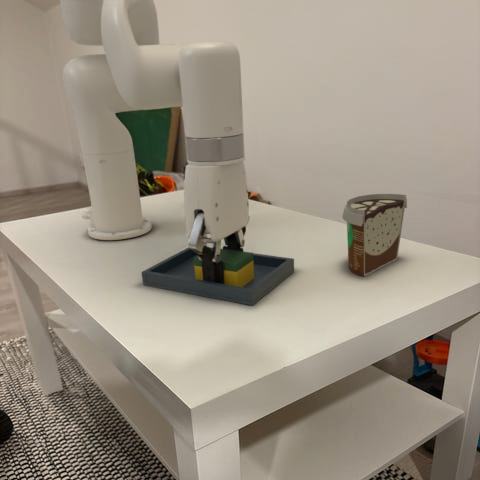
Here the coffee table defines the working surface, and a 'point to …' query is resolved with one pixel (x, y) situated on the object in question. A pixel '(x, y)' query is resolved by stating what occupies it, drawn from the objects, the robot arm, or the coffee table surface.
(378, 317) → the coffee table surface
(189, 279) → the tray
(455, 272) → the coffee table surface
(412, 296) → the coffee table surface
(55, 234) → the coffee table surface
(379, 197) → the food container
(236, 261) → the sponge
